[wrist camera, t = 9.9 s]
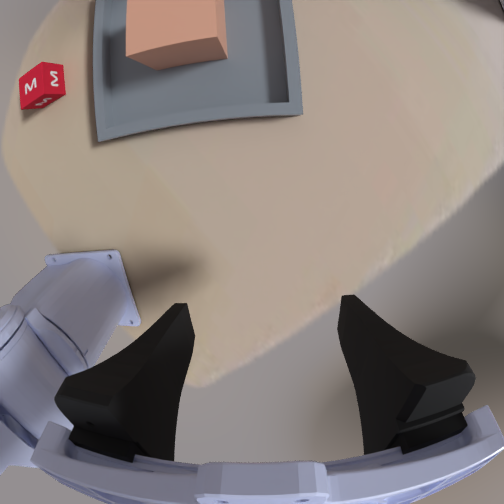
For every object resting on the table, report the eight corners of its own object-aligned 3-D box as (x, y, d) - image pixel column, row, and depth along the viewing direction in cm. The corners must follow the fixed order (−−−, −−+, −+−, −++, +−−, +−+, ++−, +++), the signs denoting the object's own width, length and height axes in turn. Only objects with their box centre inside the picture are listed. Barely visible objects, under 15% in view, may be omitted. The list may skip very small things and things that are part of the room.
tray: (110, 139, 18) (98, 141, 16) (107, -8, 12) (97, -15, 10) (298, 115, 17) (303, 114, 16) (281, -41, 11) (283, -52, 10)
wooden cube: (156, 70, 15) (125, 56, 11) (155, 13, 13) (128, -12, 9) (227, 58, 15) (217, 36, 11) (224, 1, 13) (213, -32, 8)
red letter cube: (63, 64, 15) (41, 61, 12) (66, 94, 16) (44, 93, 13) (40, 79, 15) (18, 78, 12) (43, 108, 16) (20, 109, 14)
